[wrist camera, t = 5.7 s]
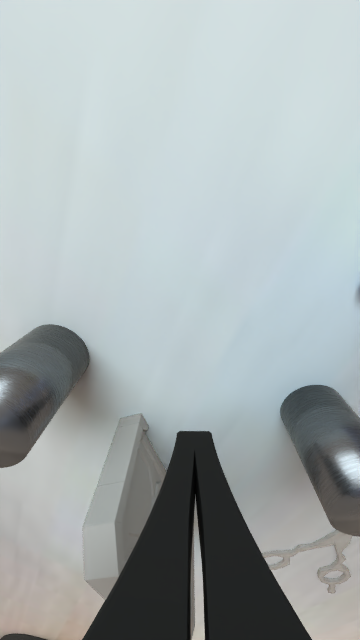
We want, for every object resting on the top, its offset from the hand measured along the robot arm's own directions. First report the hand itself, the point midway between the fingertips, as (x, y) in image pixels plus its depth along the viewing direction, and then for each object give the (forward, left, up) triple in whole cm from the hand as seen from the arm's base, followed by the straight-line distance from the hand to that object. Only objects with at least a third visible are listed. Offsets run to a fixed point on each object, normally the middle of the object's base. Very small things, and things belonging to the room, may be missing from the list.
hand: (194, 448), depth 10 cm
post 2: (-8, +1, -5) cm, 10 cm away
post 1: (+9, +1, -5) cm, 10 cm away
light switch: (0, +10, -6) cm, 11 cm away
